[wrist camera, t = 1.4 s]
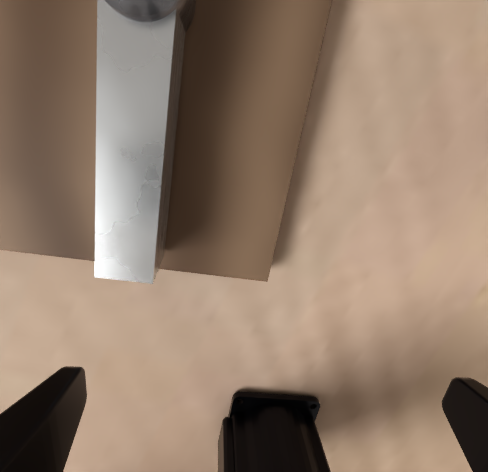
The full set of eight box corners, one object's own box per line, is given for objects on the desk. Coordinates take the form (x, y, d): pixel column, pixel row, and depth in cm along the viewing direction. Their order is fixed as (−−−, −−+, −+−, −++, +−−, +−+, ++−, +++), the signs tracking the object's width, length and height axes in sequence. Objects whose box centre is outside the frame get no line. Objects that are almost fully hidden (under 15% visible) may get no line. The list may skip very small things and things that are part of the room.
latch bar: (119, -59, 11) (76, -135, 8) (200, -38, 12) (192, -102, 8) (110, 248, 16) (80, 285, 12) (169, 255, 16) (156, 293, 13)
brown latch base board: (349, -117, 13) (418, -241, 8) (263, 269, 19) (277, 315, 14) (-301, -320, 10) (-729, -681, 5) (-151, 217, 16) (-292, 255, 11)
